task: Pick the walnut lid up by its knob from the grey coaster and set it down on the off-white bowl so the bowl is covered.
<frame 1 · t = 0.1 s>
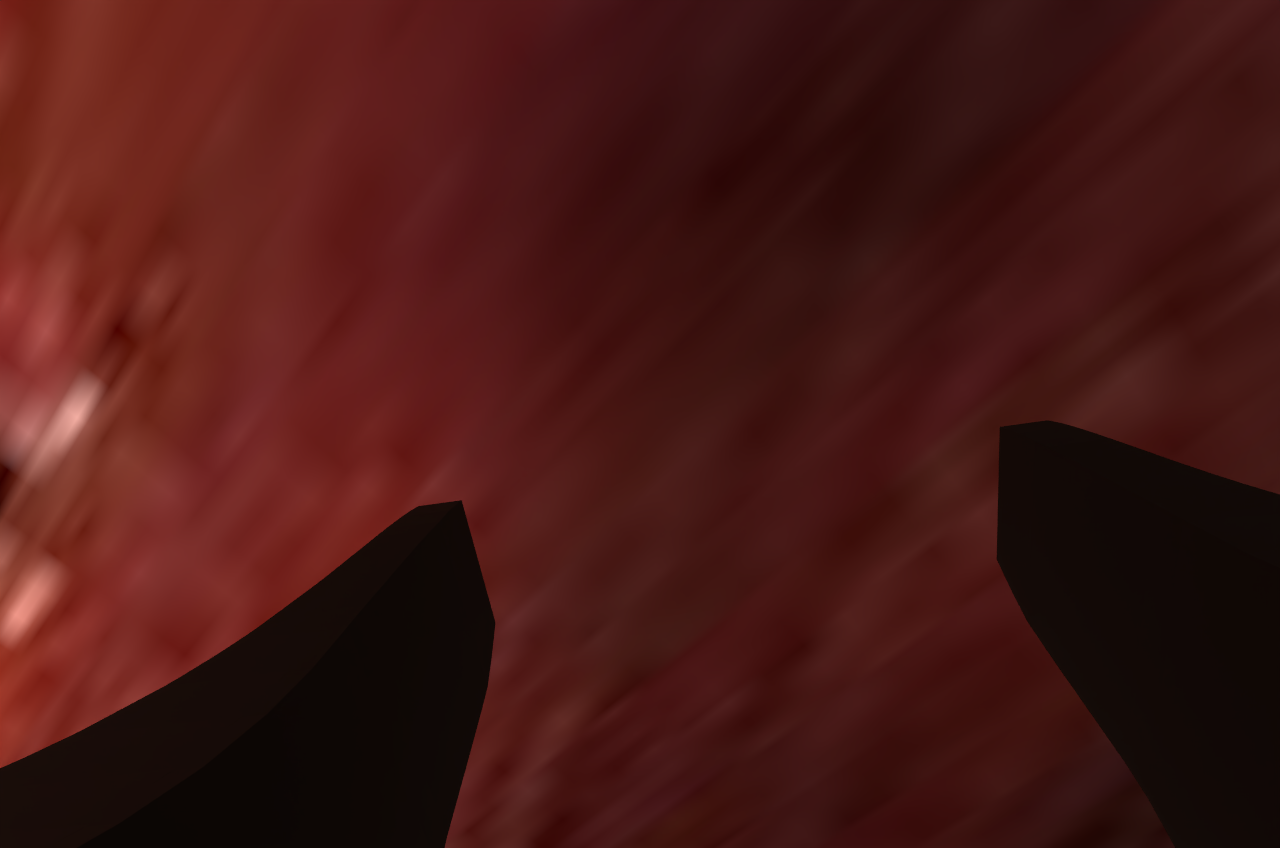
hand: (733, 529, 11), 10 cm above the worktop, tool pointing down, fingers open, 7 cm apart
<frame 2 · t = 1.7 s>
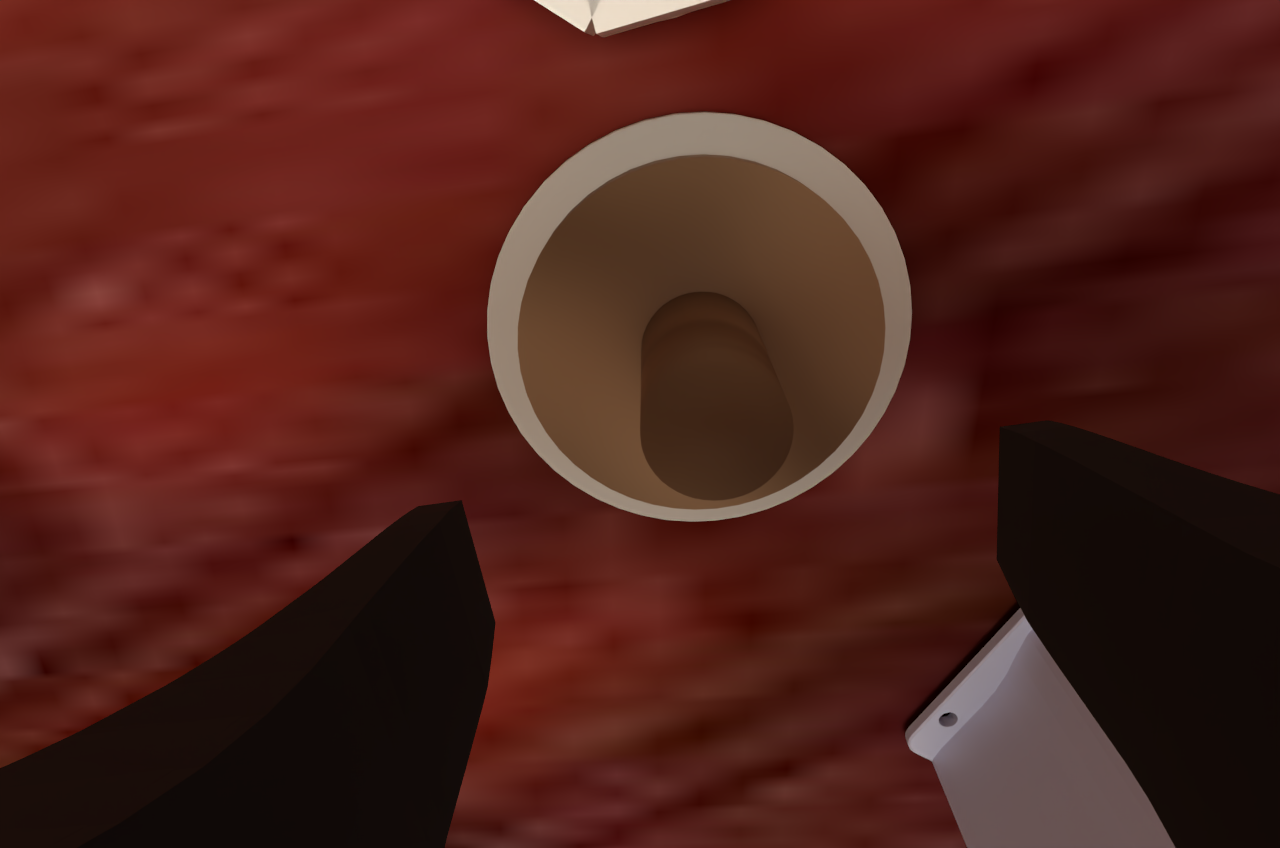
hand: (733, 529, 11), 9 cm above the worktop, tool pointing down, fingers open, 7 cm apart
coaster: (696, 330, 19), on the worktop
lid: (698, 338, 19), point 1 cm above the worktop, touching coaster
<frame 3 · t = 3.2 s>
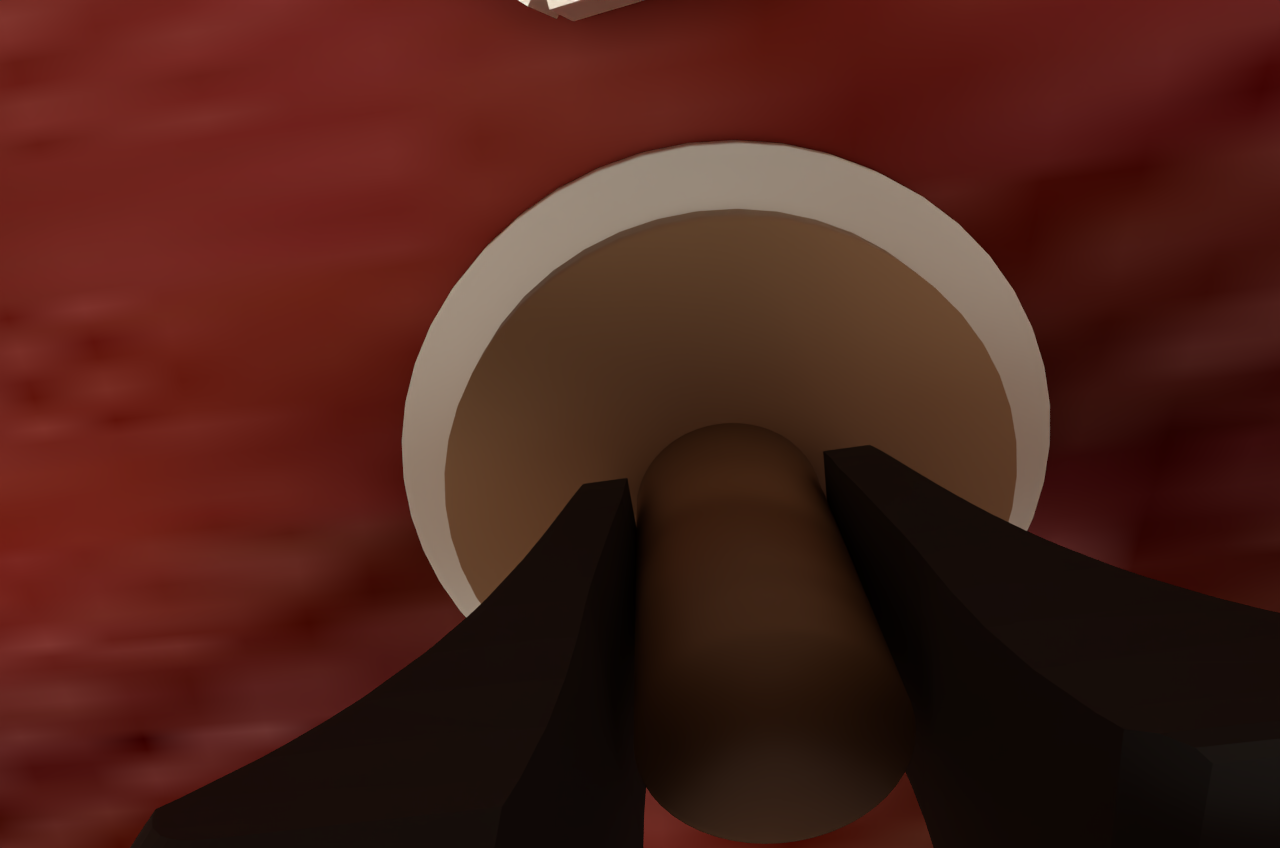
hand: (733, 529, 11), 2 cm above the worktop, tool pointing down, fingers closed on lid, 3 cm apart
coaster: (720, 462, 13), on the worktop
lid: (723, 480, 12), point 1 cm above the worktop, touching coaster, gripper
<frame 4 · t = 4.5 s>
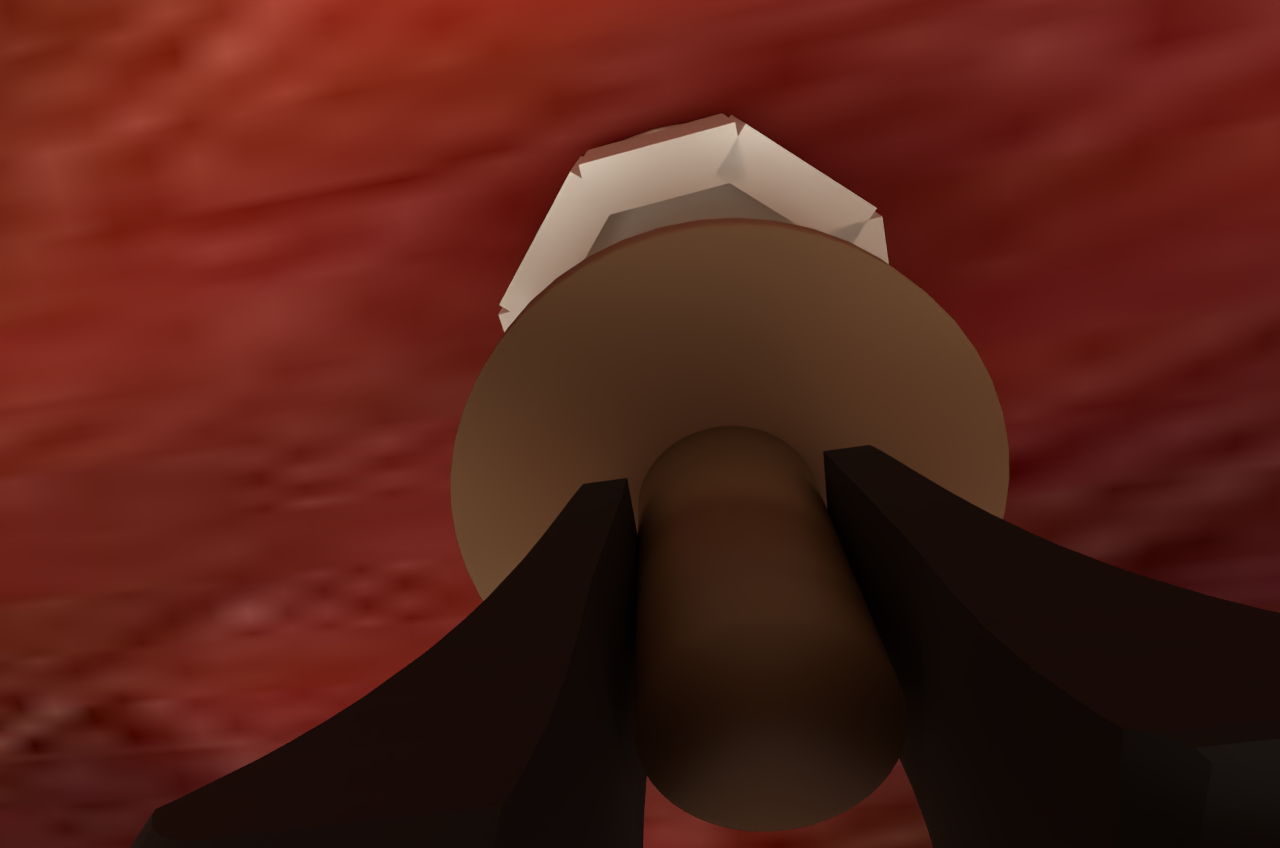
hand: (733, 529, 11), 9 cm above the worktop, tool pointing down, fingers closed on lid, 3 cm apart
bowl: (692, 291, 19), on the worktop
lid: (723, 483, 13), point 8 cm above the worktop, touching gripper
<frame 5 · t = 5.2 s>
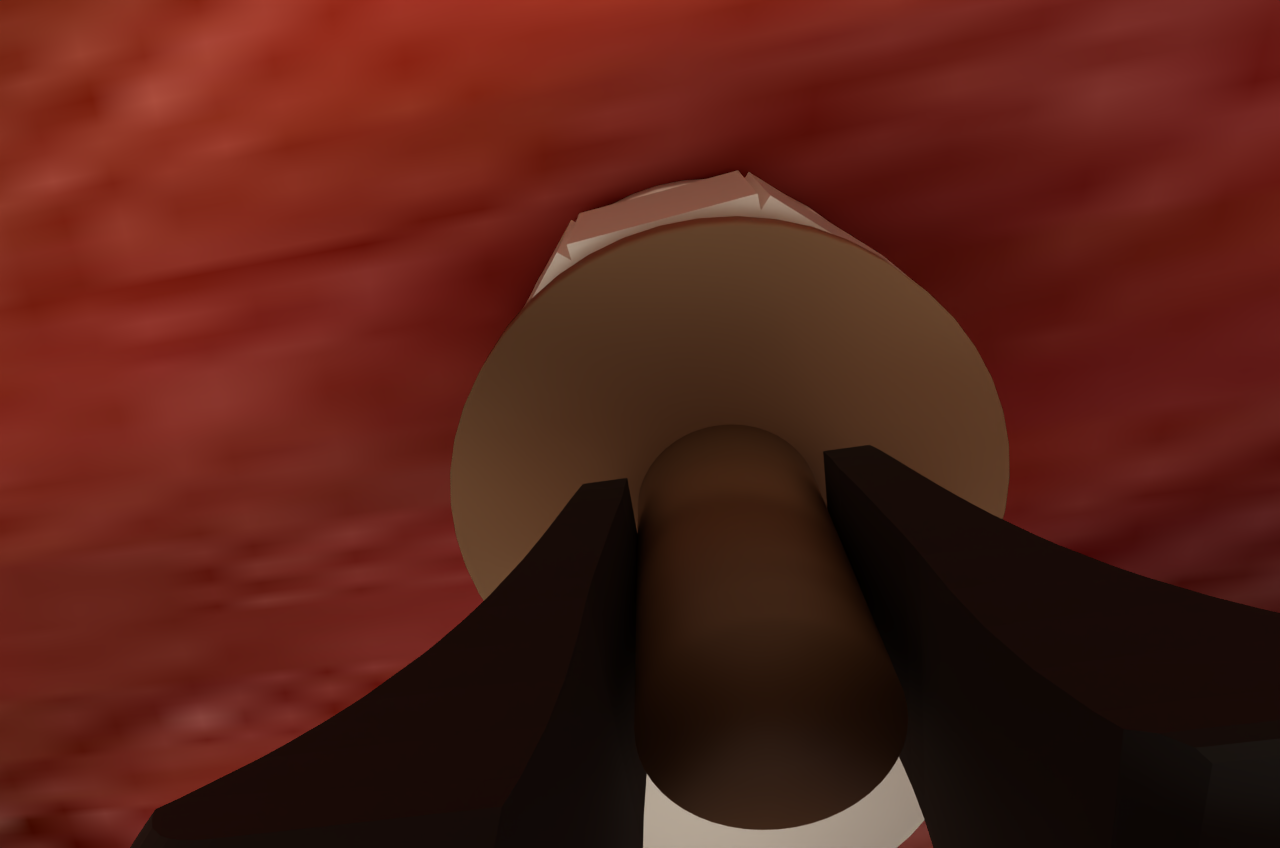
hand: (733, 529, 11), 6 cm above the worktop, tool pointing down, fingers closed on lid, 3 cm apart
bowl: (702, 368, 17), on the worktop
coaster: (753, 746, 21), on the worktop
lid: (723, 481, 13), point 5 cm above the worktop, touching gripper
when the fingers open (6 cm above the worktop, at t = 5.8 s): lid drops 1 cm, resting on bowl.
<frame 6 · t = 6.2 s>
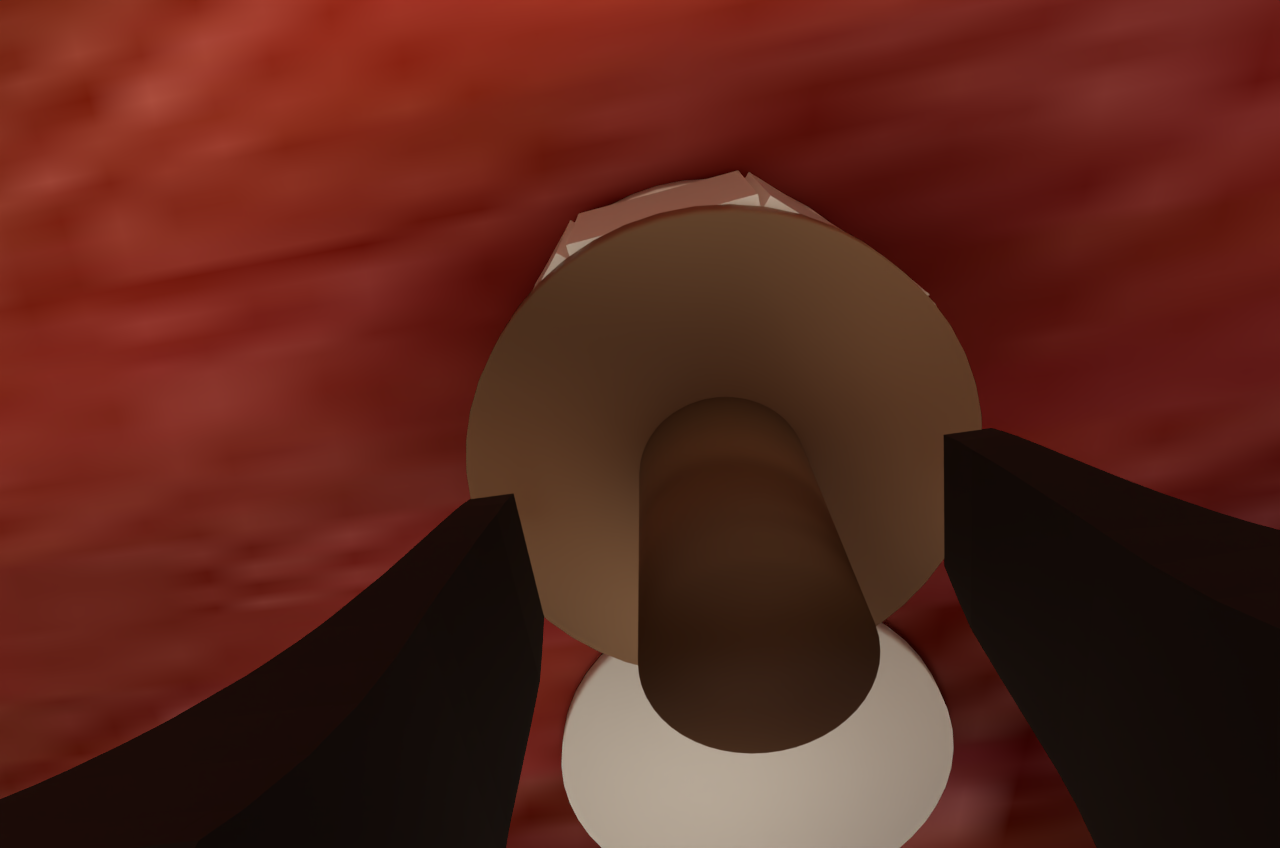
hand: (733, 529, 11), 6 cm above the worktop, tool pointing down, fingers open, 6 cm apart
bowl: (702, 369, 17), on the worktop
coaster: (753, 748, 21), on the worktop
lid: (718, 451, 14), point 3 cm above the worktop, touching bowl
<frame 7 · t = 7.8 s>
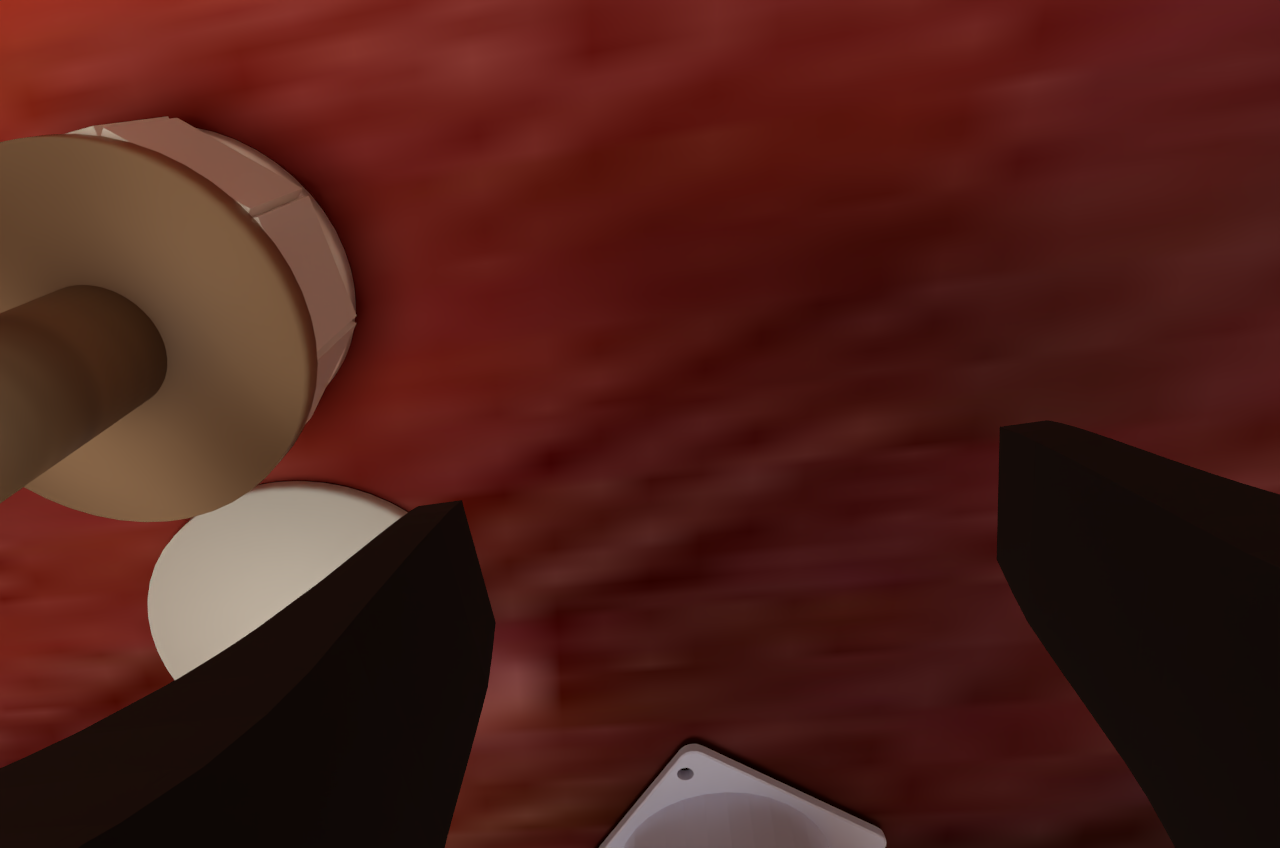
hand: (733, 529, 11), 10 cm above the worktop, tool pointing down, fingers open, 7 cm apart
bowl: (202, 286, 20), on the worktop
coaster: (324, 623, 25), on the worktop
lid: (123, 336, 17), point 3 cm above the worktop, touching bowl
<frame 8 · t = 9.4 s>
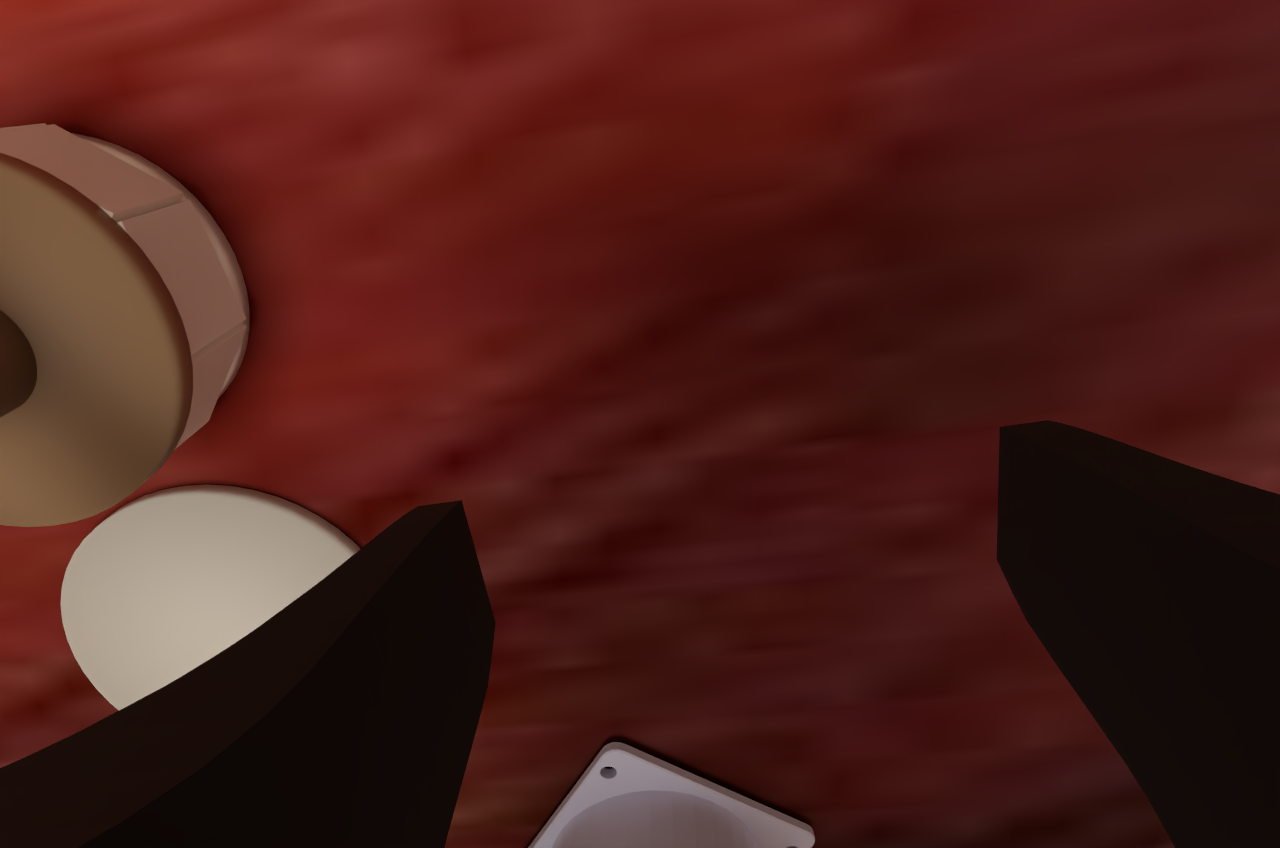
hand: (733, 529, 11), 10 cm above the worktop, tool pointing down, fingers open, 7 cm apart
bowl: (95, 292, 20), on the worktop
coaster: (241, 626, 25), on the worktop
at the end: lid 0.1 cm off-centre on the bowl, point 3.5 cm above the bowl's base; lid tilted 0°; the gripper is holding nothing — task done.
